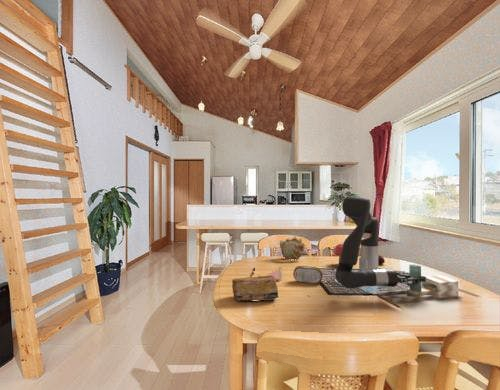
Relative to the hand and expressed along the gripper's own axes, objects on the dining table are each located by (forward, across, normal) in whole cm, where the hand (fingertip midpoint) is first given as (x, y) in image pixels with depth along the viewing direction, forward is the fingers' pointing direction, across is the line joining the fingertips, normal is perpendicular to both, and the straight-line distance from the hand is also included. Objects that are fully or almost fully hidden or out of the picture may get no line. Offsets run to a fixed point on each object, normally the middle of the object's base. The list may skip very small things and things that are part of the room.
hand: (421, 277), depth 116 cm
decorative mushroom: (-12, +58, +10) cm, 60 cm away
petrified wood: (-73, +4, +10) cm, 74 cm away
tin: (-44, +24, +10) cm, 51 cm away
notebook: (-64, +41, +10) cm, 77 cm away
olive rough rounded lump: (-43, +75, +10) cm, 87 cm away
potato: (+12, +61, +10) cm, 63 cm away
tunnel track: (+4, +1, +10) cm, 10 cm away
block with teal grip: (+3, +1, +8) cm, 9 cm away
